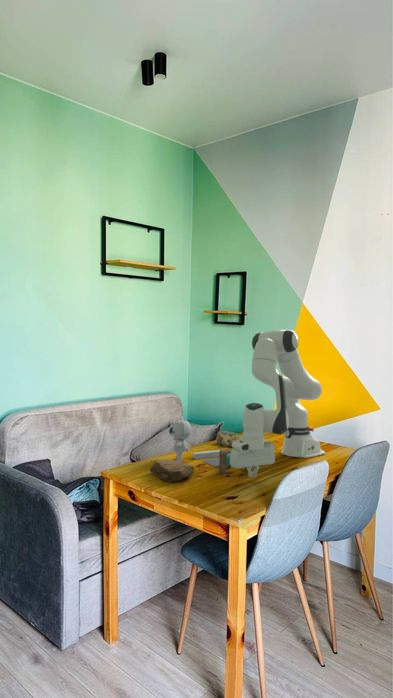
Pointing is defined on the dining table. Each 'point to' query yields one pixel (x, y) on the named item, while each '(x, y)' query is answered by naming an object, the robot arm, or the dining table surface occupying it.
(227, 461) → the ball
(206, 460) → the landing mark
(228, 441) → the figurine
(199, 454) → the white long bar
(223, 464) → the bridge
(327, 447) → the dining table surface
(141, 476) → the dining table surface
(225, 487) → the dining table surface
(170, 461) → the rock
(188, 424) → the toy
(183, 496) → the dining table surface
